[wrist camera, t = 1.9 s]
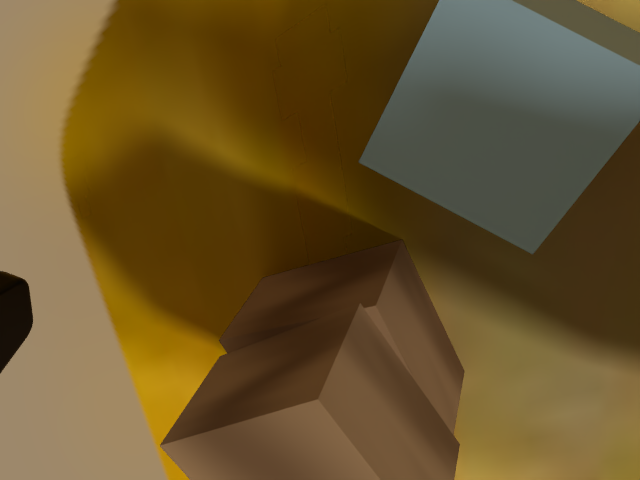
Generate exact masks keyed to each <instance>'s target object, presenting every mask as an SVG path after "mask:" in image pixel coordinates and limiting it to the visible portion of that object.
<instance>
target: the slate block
mask: <svg viewBox="0 0 640 480" xmlns="http://www.w3.org/2000/svg"><path fill="white" fill-rule="evenodd" d="M639 121H640V33H639V32H637V31H635V30H633V29H631V28H629V27H627V26H625V25H623V24H621V23H619V22H617V21H615V20H613V19H611V18H609V17H607V16H605V15H603V14H601V13H599V12H597V11H595V10H594V9H592V8H590V7H588V6H586V5H584V4H582V3H580V2H578V1H576V0H439V2H438V4H437V6H436V8H435V10H434V12H433V14H432V16H431V18H430V20H429V22H428V24H427V26H426V28H425V30H424V32H423V34H422V36H421V38H420V40H419V42H418V44H417V46H416V48H415V50H414V52H413V54H412V56H411V58H410V60H409V62H408V64H407V66H406V68H405V70H404V72H403V74H402V76H401V78H400V80H399V82H398V84H397V86H396V88H395V90H394V92H393V94H392V96H391V98H390V100H389V102H388V104H387V106H386V108H385V110H384V112H383V114H382V116H381V118H380V120H379V122H378V124H377V126H376V128H375V130H374V132H373V134H372V136H371V138H370V140H369V142H368V144H367V146H366V148H365V150H364V152H363V154H362V156H361V158H360V160H359V163H361V164H363V165H365V166H366V167H368V168H370V169H372V170H374V171H376V172H378V173H380V174H382V175H383V176H385V177H387V178H389V179H391V180H393V181H395V182H397V183H399V184H400V185H402V186H404V187H406V188H408V189H410V190H412V191H414V192H416V193H417V194H419V195H421V196H423V197H425V198H427V199H429V200H431V201H433V202H434V203H436V204H438V205H440V206H442V207H444V208H446V209H448V210H450V211H451V212H453V213H455V214H457V215H459V216H461V217H463V218H465V219H467V220H468V221H470V222H472V223H474V224H476V225H478V226H480V227H482V228H484V229H485V230H487V231H489V232H491V233H493V234H495V235H497V236H499V237H501V238H502V239H504V240H506V241H508V242H510V243H512V244H514V245H516V246H518V247H519V248H521V249H523V250H525V251H527V252H529V253H531V254H534V252H535V251H536V250H537V249H538V247H539V246H540V245H541V244H542V242H543V241H544V240H545V239H546V237H547V236H548V235H549V234H550V232H551V231H552V230H553V229H554V227H555V226H556V225H557V224H558V222H559V221H560V220H561V219H562V217H563V216H564V215H565V214H566V212H567V211H568V210H569V209H570V207H571V206H572V205H573V204H574V202H575V201H576V200H577V199H578V197H579V196H580V195H581V194H582V192H583V191H584V190H585V189H586V187H587V186H588V185H589V184H590V182H591V181H592V180H593V179H594V177H595V176H596V175H597V174H598V172H599V171H600V170H601V169H602V167H603V166H604V165H605V164H606V162H607V161H608V160H609V159H610V157H611V156H612V155H613V154H614V152H615V151H616V150H617V149H618V147H619V146H620V145H621V144H622V142H623V141H624V140H625V139H626V137H627V136H628V135H629V134H630V132H631V131H632V130H633V129H634V127H635V126H636V125H637V124H638V122H639Z"/></svg>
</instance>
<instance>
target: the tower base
mask: <svg viewBox="0 0 640 480" xmlns="http://www.w3.org/2000/svg"><path fill="white" fill-rule="evenodd" d="M358 303H361V305H362V306H363V308H364V309H365V311H366V312H367V313H368V315H369V316H370V318H371V319H372V320H373V322H374V323H375V325H376V326H377V328H378V329H379V330H380V332H381V333H382V335H383V336H384V337H385V339H386V340H387V342H388V343H389V345H390V346H391V347H392V349H393V350H394V352H395V353H396V354H397V356H398V357H399V359H400V360H401V362H402V363H403V364H404V366H405V367H406V369H407V370H408V371H409V373H410V374H411V376H412V377H413V379H414V380H415V381H416V383H417V384H418V386H419V387H420V388H421V390H422V391H423V393H424V394H425V396H426V397H427V398H428V400H429V401H430V403H431V404H432V406H433V407H434V408H435V410H436V411H437V413H438V414H439V415H440V417H441V418H442V420H443V421H444V423H445V424H446V425H447V427H448V428H449V430H450V431H451V432H452V434H454V428H455V423H456V417H457V411H458V405H459V400H460V394H461V388H462V382H463V376H464V369H463V367H462V365H461V363H460V361H459V359H458V357H457V354H456V352H455V350H454V348H453V346H452V344H451V342H450V340H449V338H448V335H447V333H446V331H445V329H444V327H443V325H442V323H441V321H440V319H439V316H438V314H437V312H436V310H435V308H434V306H433V304H432V302H431V300H430V297H429V295H428V293H427V291H426V289H425V287H424V285H423V283H422V281H421V278H420V276H419V274H418V272H417V270H416V268H415V266H414V264H413V262H412V259H411V257H410V255H409V253H408V251H407V249H406V247H405V245H404V242H403V240H399V241H395V242H392V243H388V244H384V245H381V246H377V247H373V248H370V249H366V250H362V251H359V252H355V253H351V254H348V255H344V256H340V257H337V258H333V259H329V260H326V261H322V262H318V263H315V264H311V265H307V266H304V267H300V268H296V269H293V270H289V271H285V272H282V273H278V274H274V275H271V276H267V277H263V278H262V279H261V281H260V282H259V284H258V285H257V287H256V288H255V289H254V291H253V292H252V294H251V295H250V297H249V298H248V299H247V301H246V302H245V304H244V305H243V307H242V308H241V309H240V311H239V312H238V314H237V315H236V317H235V318H234V319H233V321H232V322H231V324H230V325H229V327H228V328H227V330H226V331H225V332H224V334H223V335H222V337H221V338H220V340H219V341H220V343H221V344H222V346H223V347H224V349H225V350H226V352H227V354H228V353H230V352H233V351H235V350H238V349H241V348H243V347H246V346H248V345H251V344H254V343H256V342H259V341H262V340H264V339H267V338H269V337H272V336H275V335H277V334H280V333H283V332H285V331H288V330H290V329H293V328H296V327H298V326H301V325H304V324H306V323H309V322H311V321H314V320H317V319H319V318H322V317H324V316H327V315H330V314H332V313H335V312H337V311H340V310H343V309H345V308H348V307H351V306H353V305H356V304H358Z"/></svg>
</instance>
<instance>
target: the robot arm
mask: <svg viewBox="0 0 640 480" xmlns="http://www.w3.org/2000/svg"><path fill="white" fill-rule="evenodd" d="M32 324H33V315H32V307H31V299H30V292H29V286H28V283H27V282H26V281H25V280H24V279H22V278H20V277H17V276H15V275H12V274H9V273H7V272H3V271H0V373H1V372H2V370H3V369H4V368H5V366H6V365H7V364H8V362H9V361H10V359H11V358H12V357H13V355H14V354H15V353H16V351H17V350H18V349H19V347H20V346H21V344H22V343H23V342H24V340H25V339H26V338H27V336H28V334H29V332H30V330H31V328H32Z"/></svg>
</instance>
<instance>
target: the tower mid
mask: <svg viewBox="0 0 640 480" xmlns="http://www.w3.org/2000/svg"><path fill="white" fill-rule="evenodd" d="M459 446H460V444H459V442H458V441H457V440H456V438H455V437H454V435H453V434H452V432H451V431H450V430H449V428H448V427H447V425H446V424H445V423H444V421H443V420H442V418H441V417H440V415H439V414H438V413H437V411H436V410H435V408H434V407H433V406H432V404H431V403H430V401H429V400H428V398H427V397H426V396H425V394H424V393H423V391H422V390H421V388H420V387H419V386H418V384H417V383H416V381H415V380H414V379H413V377H412V376H411V374H410V373H409V371H408V370H407V369H406V367H405V366H404V364H403V363H402V362H401V360H400V359H399V357H398V356H397V354H396V353H395V352H394V350H393V349H392V347H391V346H390V345H389V343H388V342H387V340H386V339H385V337H384V336H383V335H382V333H381V332H380V330H379V329H378V328H377V326H376V325H375V323H374V322H373V320H372V319H371V318H370V316H369V315H368V313H367V312H366V311H365V309H364V308H363V306H362V305H361V303H358V304H356V305H353V306H351V307H348V308H345V309H343V310H340V311H337V312H335V313H332V314H330V315H327V316H324V317H322V318H319V319H317V320H314V321H311V322H309V323H306V324H304V325H301V326H298V327H296V328H293V329H290V330H288V331H285V332H283V333H280V334H277V335H275V336H272V337H269V338H267V339H264V340H262V341H259V342H256V343H254V344H251V345H248V346H246V347H243V348H241V349H238V350H235V351H233V352H230V353H228V354H225V355H222V356H220V357H219V359H218V360H217V362H216V363H215V364H214V366H213V367H212V369H211V370H210V372H209V373H208V375H207V376H206V378H205V379H204V381H203V382H202V384H201V385H200V387H199V388H198V390H197V391H196V393H195V394H194V396H193V397H192V399H191V400H190V402H189V403H188V404H187V406H186V407H185V409H184V410H183V412H182V413H181V415H180V416H179V418H178V419H177V421H176V422H175V424H174V425H173V427H172V428H171V430H170V431H169V433H168V434H167V436H166V437H165V439H164V440H163V442H162V443H161V445H160V447H161V448H162V449H163V450H164V451H165V452H166V453H167V454H168V455H169V457H170V458H171V459H172V460H173V461H174V462H175V463H176V464H177V465H178V467H179V468H180V469H181V470H182V471H183V472H184V473H185V474H186V475H187V477H188V478H189V479H190V480H454V477H455V471H456V464H457V458H458V452H459Z"/></svg>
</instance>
